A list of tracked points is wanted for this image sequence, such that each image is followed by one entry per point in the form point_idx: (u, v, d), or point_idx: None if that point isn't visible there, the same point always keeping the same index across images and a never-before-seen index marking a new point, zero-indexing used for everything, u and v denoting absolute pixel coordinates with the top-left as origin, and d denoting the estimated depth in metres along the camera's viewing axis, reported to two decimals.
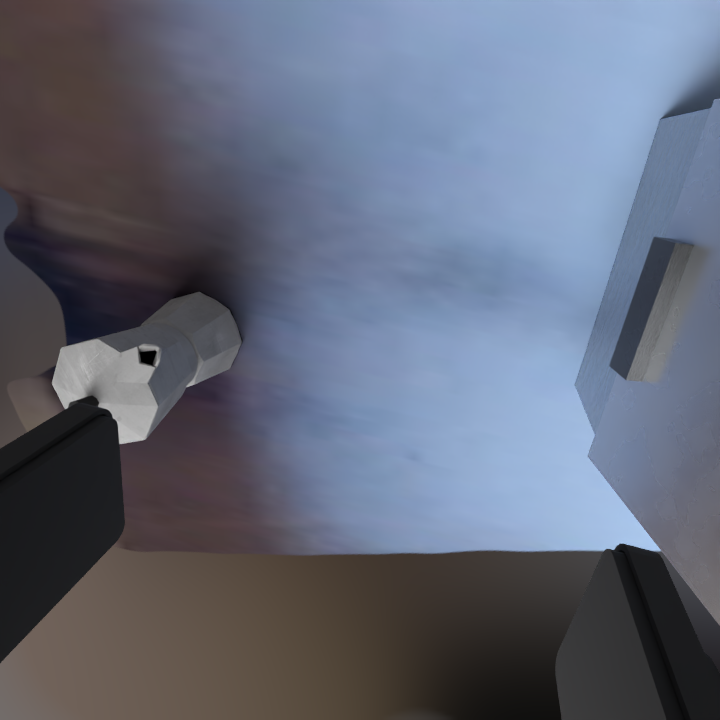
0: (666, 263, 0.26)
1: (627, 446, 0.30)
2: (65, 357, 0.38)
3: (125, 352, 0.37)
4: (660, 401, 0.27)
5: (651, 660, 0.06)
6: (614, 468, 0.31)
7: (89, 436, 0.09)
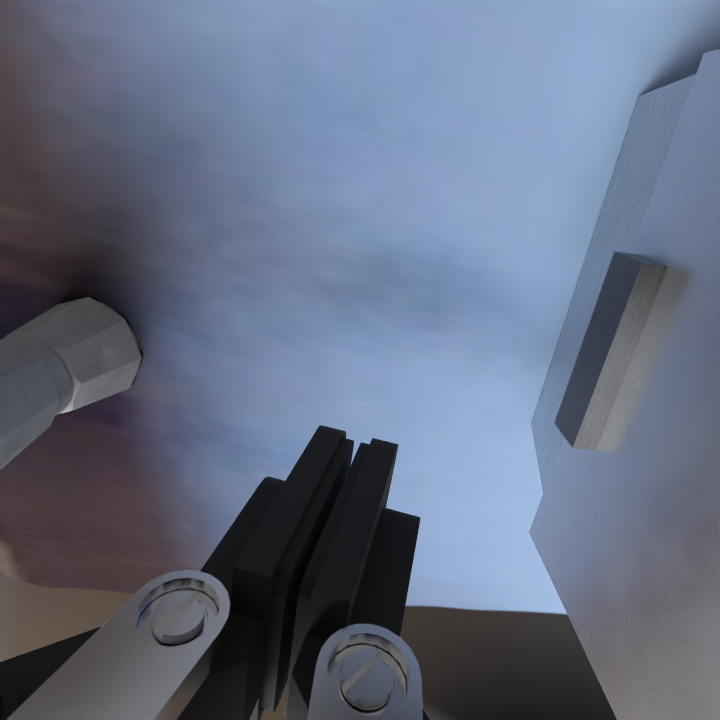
0: (628, 291, 0.18)
1: (573, 535, 0.22)
2: None
3: None
4: (616, 484, 0.19)
5: (340, 505, 0.08)
6: (557, 560, 0.23)
7: (344, 458, 0.09)
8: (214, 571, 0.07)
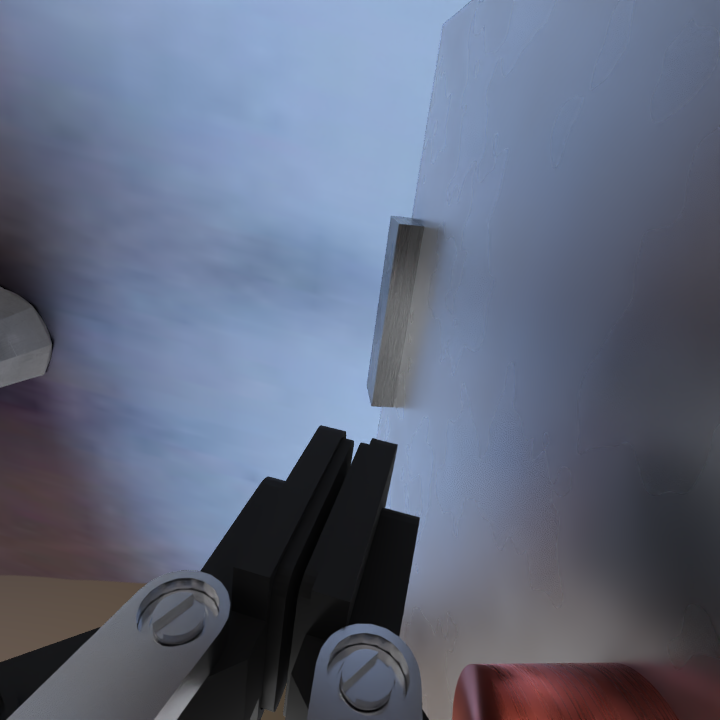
0: (394, 251, 0.19)
1: None
2: None
3: None
4: (399, 436, 0.20)
5: (340, 505, 0.08)
6: None
7: (345, 458, 0.09)
8: (214, 571, 0.07)
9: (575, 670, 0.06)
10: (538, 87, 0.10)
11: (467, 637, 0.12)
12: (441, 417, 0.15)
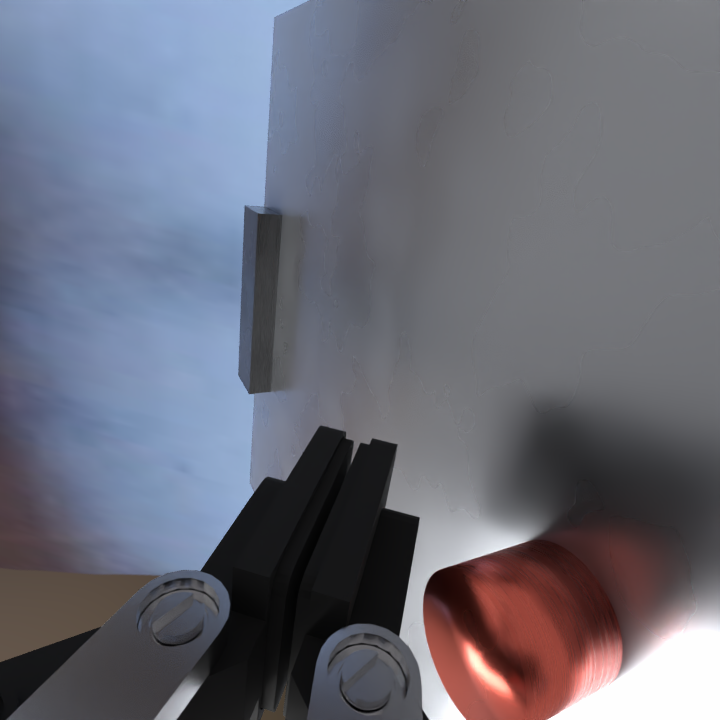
0: (255, 241, 0.20)
1: (270, 472, 0.24)
2: None
3: None
4: (283, 417, 0.21)
5: (340, 505, 0.08)
6: None
7: (345, 458, 0.09)
8: (214, 571, 0.07)
9: (511, 552, 0.08)
10: (396, 94, 0.12)
11: None
12: (333, 390, 0.17)
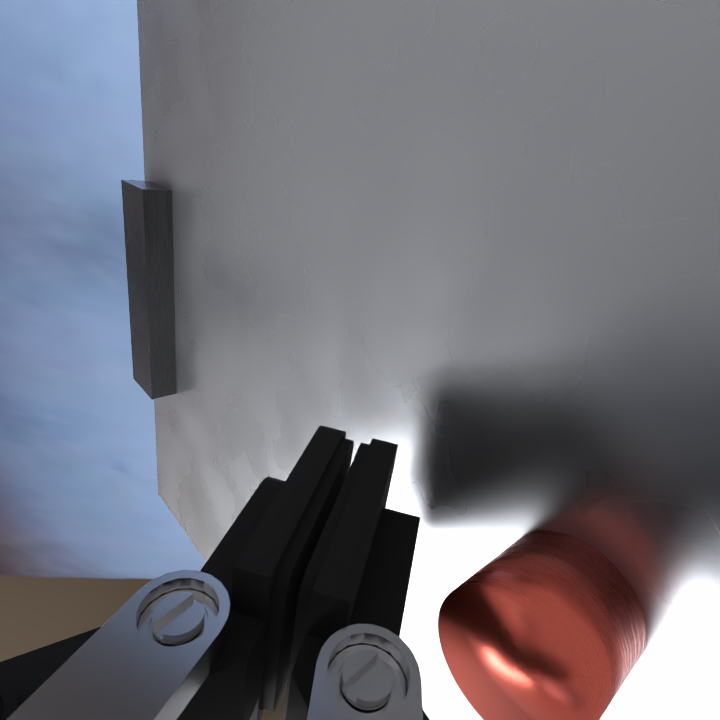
0: (142, 222, 0.17)
1: (186, 482, 0.21)
2: None
3: None
4: (198, 421, 0.19)
5: (340, 505, 0.08)
6: (183, 510, 0.22)
7: (344, 458, 0.09)
8: (214, 571, 0.07)
9: (525, 552, 0.08)
10: (323, 46, 0.10)
11: None
12: (263, 388, 0.15)
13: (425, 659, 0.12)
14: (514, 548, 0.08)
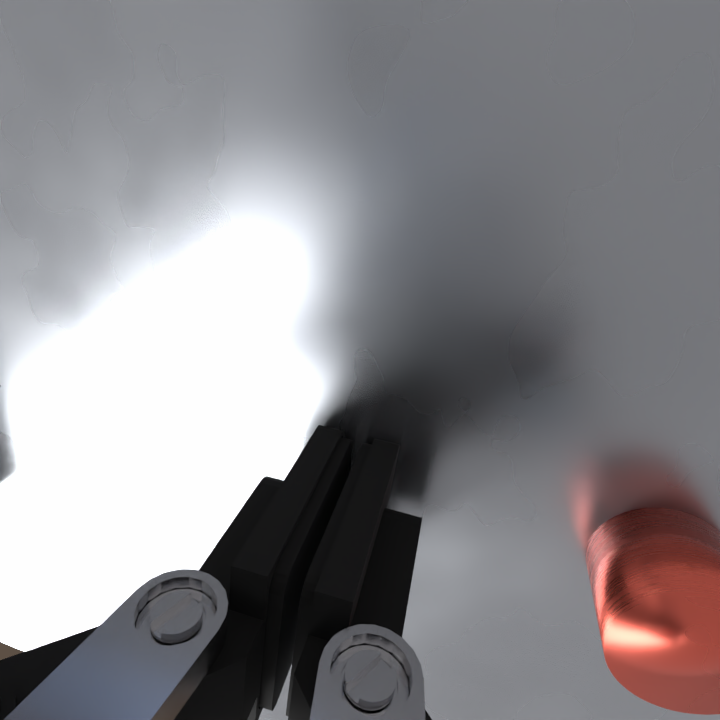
0: None
1: (35, 598, 0.15)
2: None
3: None
4: (51, 517, 0.14)
5: (342, 506, 0.08)
6: (34, 635, 0.16)
7: (343, 458, 0.09)
8: (212, 570, 0.07)
9: (650, 541, 0.08)
10: None
11: None
12: (194, 452, 0.11)
13: (482, 664, 0.11)
14: (629, 540, 0.08)
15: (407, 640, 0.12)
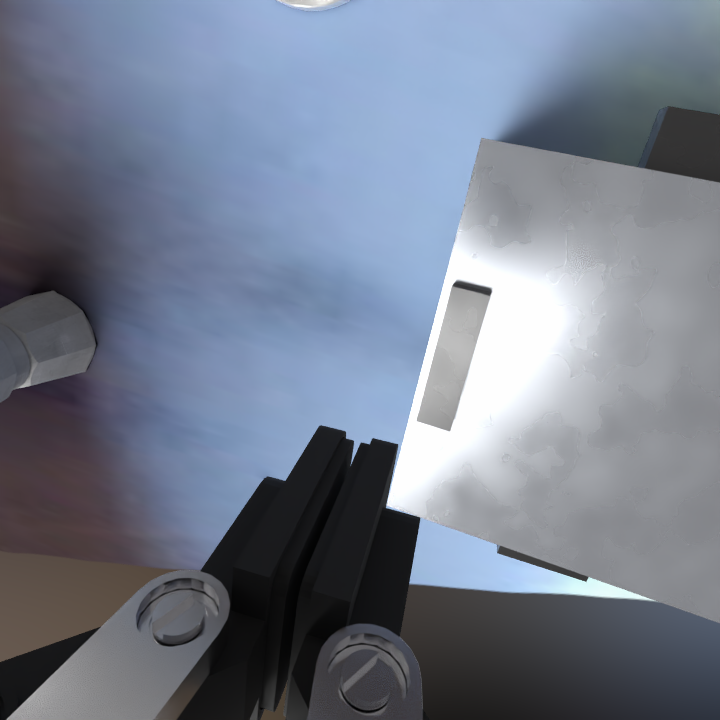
0: (480, 315, 0.25)
1: (448, 484, 0.30)
2: None
3: None
4: (484, 438, 0.28)
5: (340, 505, 0.08)
6: (435, 506, 0.31)
7: (345, 458, 0.09)
8: (214, 571, 0.07)
9: None
10: (688, 247, 0.22)
11: (661, 485, 0.26)
12: (586, 406, 0.26)
13: (707, 506, 0.26)
14: None
15: (671, 496, 0.26)
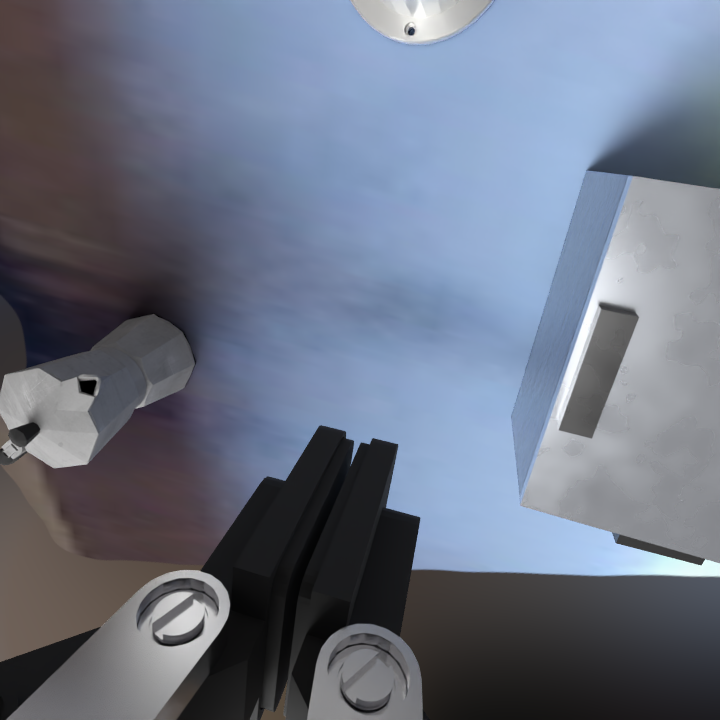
0: (628, 334, 0.28)
1: (583, 484, 0.33)
2: (8, 384, 0.39)
3: (65, 382, 0.38)
4: (621, 442, 0.31)
5: (340, 505, 0.08)
6: (568, 505, 0.34)
7: (345, 458, 0.09)
8: (214, 571, 0.07)
9: None
10: None
11: None
12: None
13: None
14: None
15: None
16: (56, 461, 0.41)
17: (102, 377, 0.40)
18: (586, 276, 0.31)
